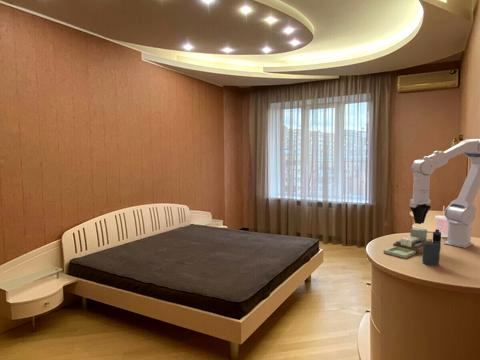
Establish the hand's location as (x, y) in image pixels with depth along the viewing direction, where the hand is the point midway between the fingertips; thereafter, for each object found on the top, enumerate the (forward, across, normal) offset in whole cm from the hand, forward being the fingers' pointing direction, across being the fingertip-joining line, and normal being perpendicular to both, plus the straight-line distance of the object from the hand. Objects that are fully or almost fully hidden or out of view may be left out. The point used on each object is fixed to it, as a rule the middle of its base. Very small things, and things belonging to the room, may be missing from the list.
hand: (419, 223), depth 131 cm
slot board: (+9, +4, 0) cm, 10 cm away
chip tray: (+9, +16, 0) cm, 18 cm away
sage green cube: (+7, 0, 0) cm, 7 cm away
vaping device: (+10, +19, +12) cm, 24 cm away
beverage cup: (+10, -24, 0) cm, 26 cm away
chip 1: (+7, +9, 0) cm, 11 cm away
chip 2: (+7, +4, 0) cm, 9 cm away
